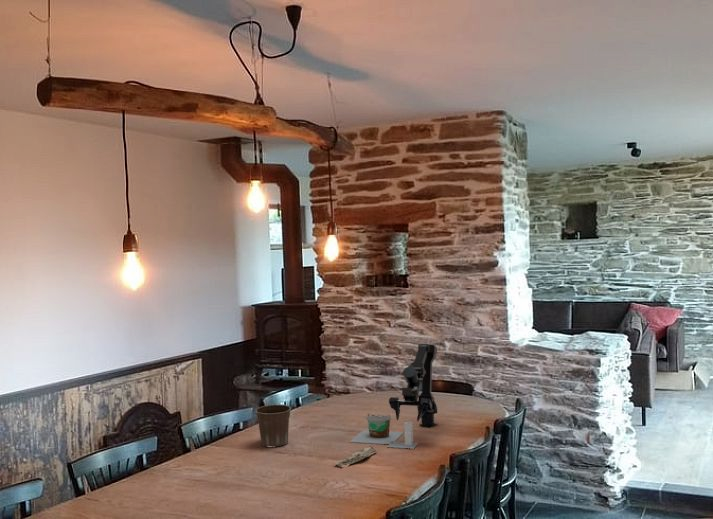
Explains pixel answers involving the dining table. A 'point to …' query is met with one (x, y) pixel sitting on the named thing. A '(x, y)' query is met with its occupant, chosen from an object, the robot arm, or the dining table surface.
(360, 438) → the pull board
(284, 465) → the dining table surface
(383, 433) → the food container
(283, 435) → the plant pot
